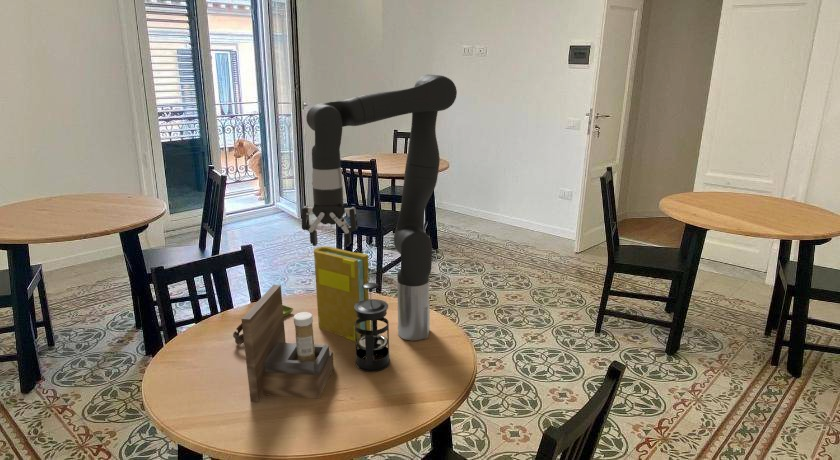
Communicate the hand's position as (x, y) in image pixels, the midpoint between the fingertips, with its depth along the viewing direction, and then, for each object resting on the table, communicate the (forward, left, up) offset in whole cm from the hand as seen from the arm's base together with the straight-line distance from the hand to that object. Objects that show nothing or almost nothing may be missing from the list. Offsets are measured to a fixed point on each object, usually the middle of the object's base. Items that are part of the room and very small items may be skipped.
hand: (330, 245), depth 141 cm
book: (+2, -14, -32) cm, 35 cm away
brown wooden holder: (+7, +14, -32) cm, 36 cm away
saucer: (+26, -22, -33) cm, 47 cm away
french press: (-11, +4, -32) cm, 34 cm away
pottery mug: (+25, -4, -32) cm, 41 cm away
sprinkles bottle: (+4, +14, -27) cm, 31 cm away
